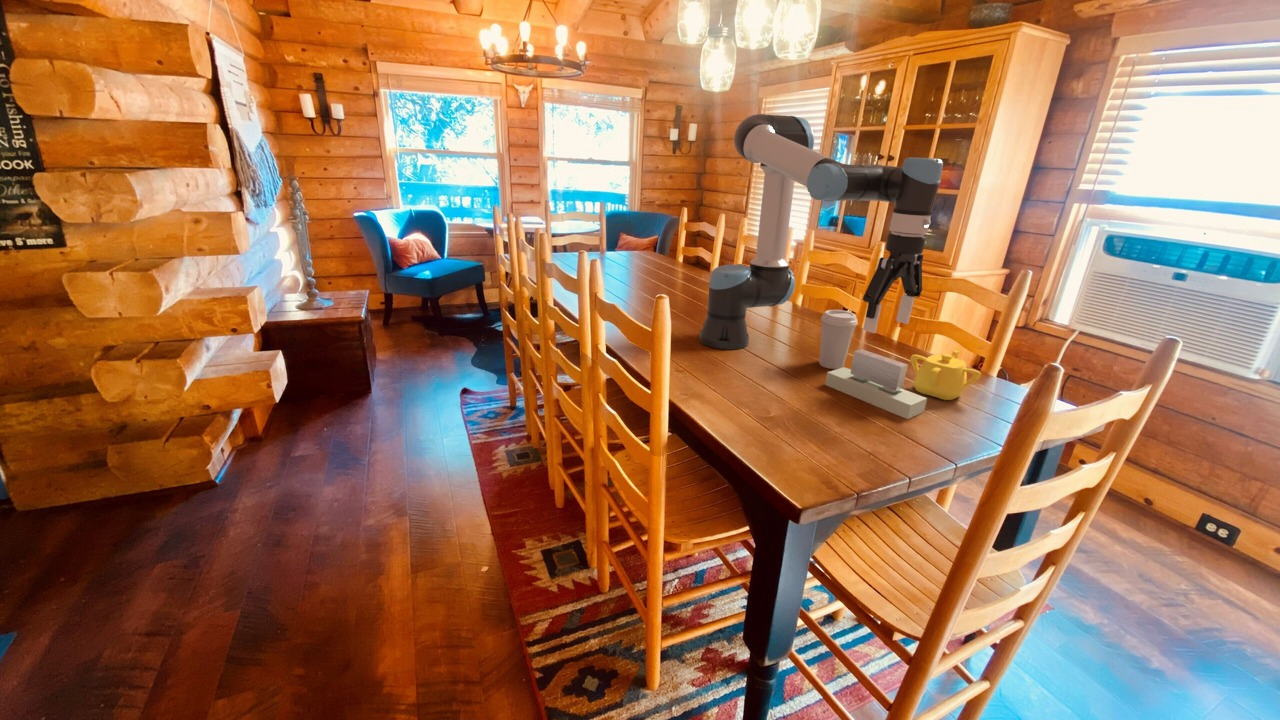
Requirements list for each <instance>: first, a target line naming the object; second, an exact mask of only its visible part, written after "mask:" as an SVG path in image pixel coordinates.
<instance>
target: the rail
mask: <svg viewBox="0 0 1280 720" xmlns="http://www.w3.org/2000/svg"><path fill="white" fill-rule="evenodd" d="M850 373H851V368H848V367H846V366H843V368H839V369H832V370H831V371H828V372H827V373H826V379H825V386H827V387H829V388H831V389H834V390H836V391H839V392H841V393H844V394H846V395H849V396H850V397H853V398H856V399H858V400H860V401H863V402H865V403H868V404H869V405H872V406H874V407H877V408H880V409H881V410H884V411H887V412H889V413H891V414H894V415H896V416H899V417H902V418H904V419H906V420H909V419H911V418H913V417H915V416H918V415H920V414H922V413H924V412H925V409H926V406H927V401H928V397H925V396H923V395H920V394H917V393H915V392H912V391H909V390H906V389H904V388H903V389H900V390H898V393H897V394H896V395H894V396H893V395H891V394H888V393H886V392H883V387H884V386H881V385H879V384H876V383H873V382H871V381H868V380H867V382H865V383H860V382H858V381H855V380H853V376H854V375H853V374H850Z"/></svg>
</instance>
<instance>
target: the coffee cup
mask: <svg viewBox="0 0 1280 720" xmlns="http://www.w3.org/2000/svg"><path fill="white" fill-rule="evenodd" d="M820 321H821V322H822V323H821V336H820V349H819V365H820V366H821V367H823V368H825V369H830V370H836V369H839V368H843V367H845V363H846V360H847V356H848V351H849V349H850V345H851V342H852V338H853V334H854V332H855V329H856V326H857V325H858V324H859V323H858V322H859V321H858V318H857V315H856V314H855V313H853V312H851V311H847V310H842V309H828V310H826V311H825V312H824V313H823V314H822V316H821V318H820Z"/></svg>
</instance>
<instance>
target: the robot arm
mask: <svg viewBox="0 0 1280 720" xmlns="http://www.w3.org/2000/svg"><path fill="white" fill-rule="evenodd" d="M733 144H734V148H735V151H736V152H737V153H738V154H739V156H741V157H742V158H743V159H745V160H747V161H749V162H750V163H753V164H759V163H760V164H759V167H760V169H761V170H762V172H763V173H764V177H763V187H762V196H761V206H760V216H759V224H758V232H757V233H758V235H757V243H756V252H755V257H753V258H752V259H751V260H750V262H749V266H748V265H747V264H739V263H738V264H737V263H735V264H733V263H732V264H723V265H719V266H717V267H716V268H714V269H713V270H711V273H710V277H709V282H708V286H709V287H708V288H709V289H708V299H707V311H706V318H705V321H703V324H702V329H700V331H699V337H698V338H699V339H698V340H699V342H700V343H701V344H702V345H705V346H707V347H709V348H714V349H718V350H740V349H744V348H745V347H748V345H749V339H750V336H749V333H748V328H747V323H746V322H747V321H746V314H747V309H750V308H761V307H775V306H779V305H783V304H785V303H787V301H789V300H790V299H791V297H792V295H793V294H794V291H795V286H796V279H795V276H794V271H792V269H790V268H789V267H790V263H789V262H788V261H787V259H786V251H787V243H788V236H789V227H790V220H791V211H792V202H793V196H794V186H795V182H796V183H798V184H800V185H801V186H804V187H805V188H807V193H809V196H810V197H811V198H812V199H814V200H816V201H823V202H834V201H835V202H839V201H840V202H841V201H842V202H845V201H849V202H851V201H855V202H856V201H858V202H859V201H861V202H862V201H865V202H866V201H867V202H869V201H871V202H873V201H874V202H886V203H893V204H894V205H893V206H894V207H893V211H892V216H891V218H890V220H891V221H890V223H889V231H890V232H889V233H888V235H887V238H886V241H885V242H886V243H885V250H886V251H887V252H889V256H888V257H887V258H886V257H880V258H879V261H878V264H877V267H876V270H875V271H874V274H873V276H872V278H871V280H870V282H869V284H868V286H867V288H866V290H865V292H864V295H863V296H862V301H864V302H865V303H868V304H867V309H866V312H865V313H866V314H865V319H864V323H863V327H862V330H863V331H864V332H867V333H868V332H869V333H872V334H876V332H877V329H878V325H879V324H878V323H879V319H880V316H881V310H882V306H883V305H882V304H881V302H882V301H883V299H884V298H885V296H886V294H887V292H888V291H889V290H890V288H891V286H892V285H893V284H894V282H895V281H898V280H899V278H900V280H901V283H902V288H903V291H904V294H902V295H901V298H900V303H899V306H898V310H897V315H896V320H895V321H896V322H898V323H902V324H905V325H908V324H909V322H910V319H911V314H912V310H913V307H914V302H915V300H916V299H915V298H919V297H921V294H922V292H923V261H924V260H923V259H924V255H923V252H924V248H925V244H926V241H927V238H926V236H925V235H927V234H928V231H929V228H930V227H929V226H931V223H932V221H931V219H932V218H931V217H932V215H933V210H934V205H935V201H936V198H937V195H938V192H939V191H938V190H939V188H940V184H941V181H942V179H941V177H942V173H943V166H944V162H943V161H942V159H940V158H930V157H928V158H927V157H906V158H905V159H904V161H903V164H902V166H892V165H882V164H847V163H842V162H839V161H837V160H835V159H833V158H831V157H829V156H826V155H824V154H822V153H820V152H818V151H816V150H814V146H815V133H814V129H813V127H812V126H811V124H810V121H808V120H807V119H805V118H803V117H798V116H795V115H777V114H765V113H758V114H753V115H749V116H748V117H746V118H744V119H743V120H742V121H741V122H740V123H739V125H738V126H737V127H736V131H735V132H734V138H733Z"/></svg>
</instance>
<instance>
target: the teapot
mask: <svg viewBox="0 0 1280 720" xmlns="http://www.w3.org/2000/svg"><path fill="white" fill-rule="evenodd" d="M960 351H961V350H960V349H959V348H955V349H954V350H953V351H952V353H951V354H948V353H941V354H937V353H936V354H932V355H930V356H928V357H926V356H923V355H920V354H912V355H911V356H910V363H911V365H912V368H913V370H914V371H915V373H916V375H915V378H914V381H913V383H914V384H913V385H914V389H915V391H917V392H919V393H920V394H923V395H927V396H930V397H934V398H937V399H939V400H942V399H943V400H942V401H946V400H948V401H951V400H954V399H956V398H958V397H959V396H961V395H962V393H963V392H964V391H965V390H966V388H967V387H968V386H971V385H972V384H973V383H975V382H977V381H978V380H979V379H980V378H981V376H982V373H981V372H980V371H979V370H976V369H972V368H968V367H967V365H966V361H965V360H962V359H959V354H960ZM918 360H921V361H923V363H922V365H921V366H920V367H919V364H918ZM967 373H969V374H971V375H972V376H971V378H970V379H969V380H968V381H967V375H968V374H967Z"/></svg>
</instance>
